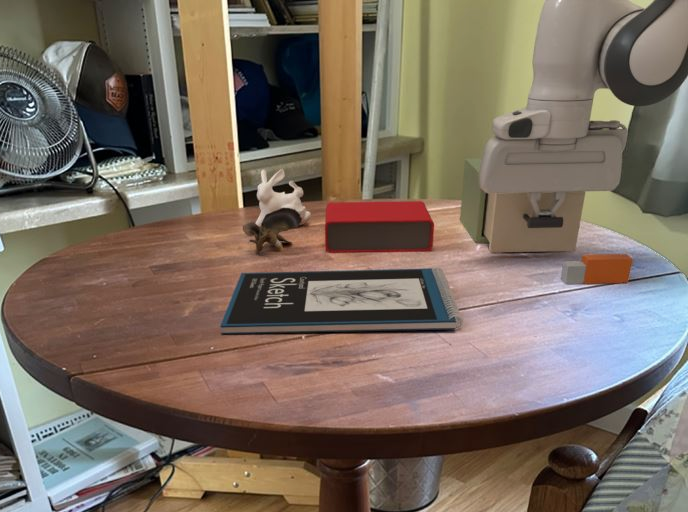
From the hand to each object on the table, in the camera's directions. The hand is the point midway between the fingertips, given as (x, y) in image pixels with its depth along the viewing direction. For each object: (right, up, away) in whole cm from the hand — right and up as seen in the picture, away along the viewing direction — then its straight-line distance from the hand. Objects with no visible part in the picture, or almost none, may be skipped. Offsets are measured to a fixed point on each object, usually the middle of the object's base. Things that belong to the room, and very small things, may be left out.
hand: (542, 222), depth 107 cm
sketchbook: (-31, -15, -11) cm, 36 cm away
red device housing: (-24, +3, +16) cm, 29 cm away
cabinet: (0, +6, +20) cm, 21 cm away
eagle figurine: (-42, 0, +13) cm, 44 cm away
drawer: (0, 0, +10) cm, 10 cm away
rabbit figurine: (-42, +9, +27) cm, 51 cm away
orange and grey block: (+6, -10, -5) cm, 13 cm away
